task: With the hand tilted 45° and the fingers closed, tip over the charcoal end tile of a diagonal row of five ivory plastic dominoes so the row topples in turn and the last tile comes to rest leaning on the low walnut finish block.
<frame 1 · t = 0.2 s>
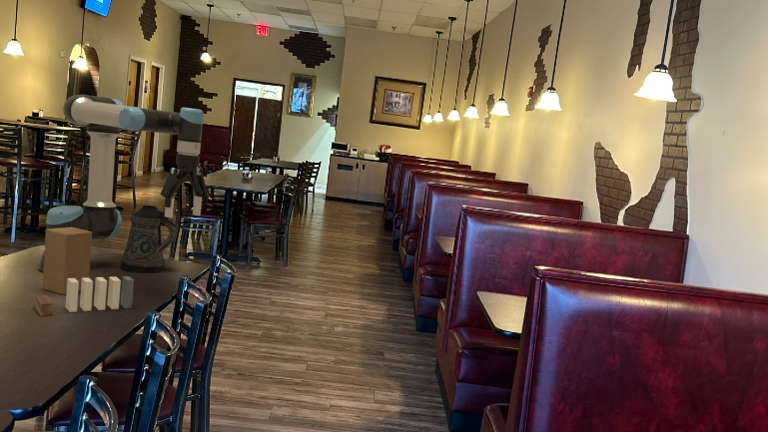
hand: (182, 216, 221), 27 cm above the table, tool pointing down, fingers open, 13 cm apart
domino 1: (126, 306, 204), on the table
beer stein: (146, 269, 256), on the table
domino 3: (99, 307, 199), on the table
wooden block: (65, 290, 214), on the table
domino 2: (112, 306, 202), on the table
domino 4: (85, 308, 197), on the table
end block: (43, 311, 189), on the table
domino 5: (71, 309, 194), on the table
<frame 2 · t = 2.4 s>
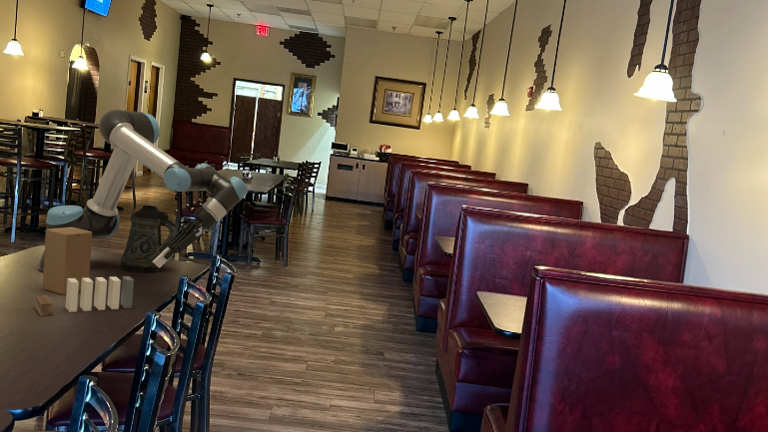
hand: (156, 264, 208), 13 cm above the table, tool tilted 45°, fingers closed
nothing on the table moved.
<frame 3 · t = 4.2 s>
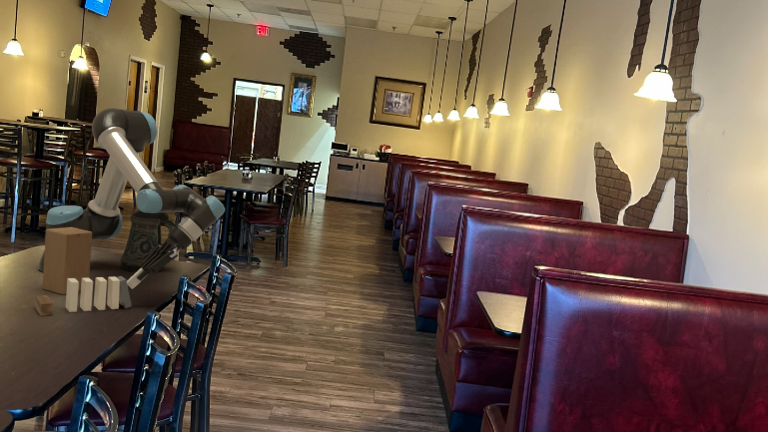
hand: (128, 285, 203), 6 cm above the table, tool tilted 45°, fingers closed
domino 1: (126, 305, 204), on the table, tilted 15°, touching gripper
everything else where it was.
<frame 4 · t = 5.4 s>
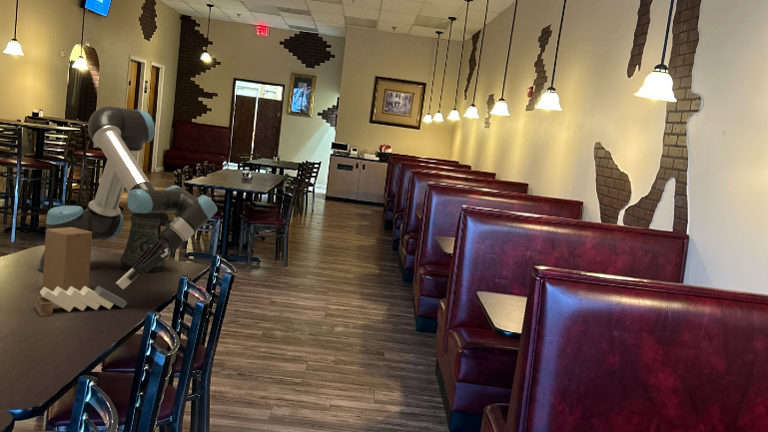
hand: (119, 286, 202), 7 cm above the table, tool tilted 45°, fingers closed
domino 1: (122, 303, 203), point 1 cm above the table, tilted 59°, touching domino 2
domino 3: (96, 305, 198), point 1 cm above the table, tilted 57°, touching domino 2, domino 4
domino 2: (109, 304, 201), point 1 cm above the table, tilted 57°, touching domino 1, domino 3
domino 4: (82, 306, 196), point 1 cm above the table, tilted 56°, touching domino 3, domino 5
domino 5: (69, 306, 194), point 1 cm above the table, tilted 55°, touching domino 4, end block
everything else where it was.
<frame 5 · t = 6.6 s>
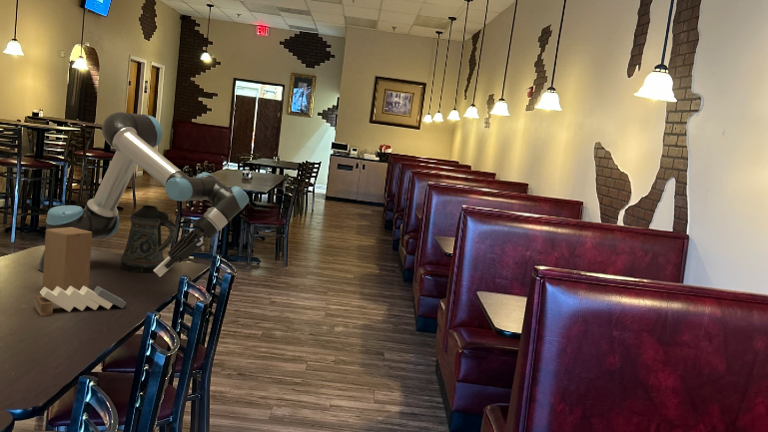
hand: (156, 273, 208), 10 cm above the table, tool tilted 45°, fingers closed
nothing on the table moved.
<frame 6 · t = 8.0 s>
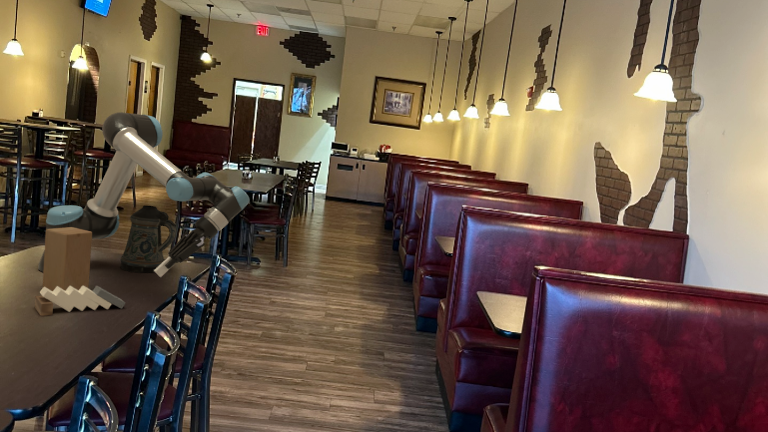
hand: (157, 273, 209), 10 cm above the table, tool tilted 45°, fingers closed
nothing on the table moved.
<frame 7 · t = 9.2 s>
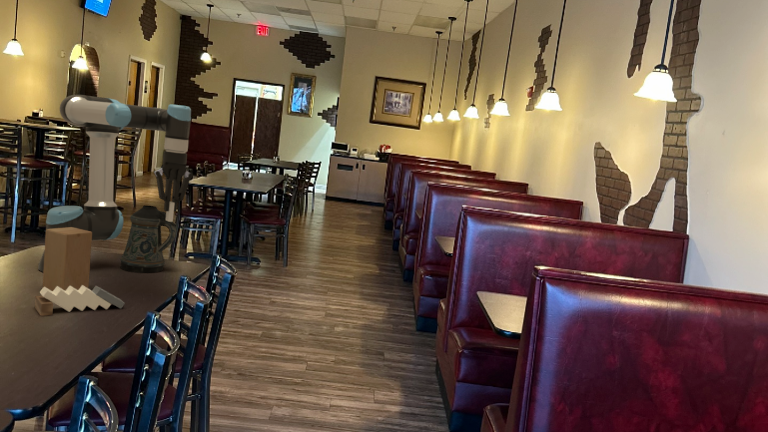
hand: (169, 220, 219), 26 cm above the table, tool pointing down, fingers closed
domino 3: (94, 305, 198), point 1 cm above the table, tilted 55°, touching domino 4
domino 2: (106, 304, 200), point 1 cm above the table, tilted 55°, touching domino 1
everything else where it was.
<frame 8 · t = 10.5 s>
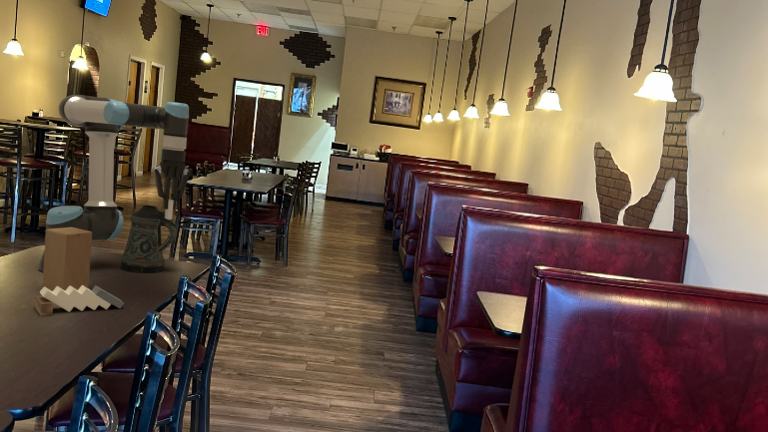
hand: (168, 218, 219), 26 cm above the table, tool pointing down, fingers closed
domino 3: (94, 305, 198), point 1 cm above the table, tilted 55°, touching domino 2, domino 4
domino 2: (106, 304, 200), point 1 cm above the table, tilted 55°, touching domino 1, domino 3
everything else where it was.
at the end: domino 5 tilted 55°; domino 1 tilted 57° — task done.
